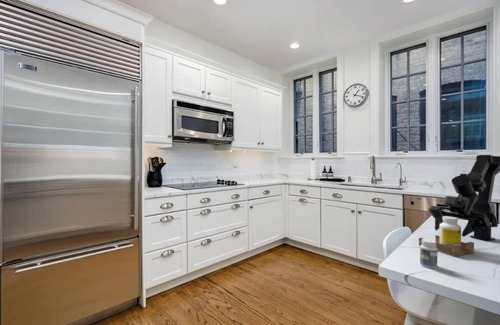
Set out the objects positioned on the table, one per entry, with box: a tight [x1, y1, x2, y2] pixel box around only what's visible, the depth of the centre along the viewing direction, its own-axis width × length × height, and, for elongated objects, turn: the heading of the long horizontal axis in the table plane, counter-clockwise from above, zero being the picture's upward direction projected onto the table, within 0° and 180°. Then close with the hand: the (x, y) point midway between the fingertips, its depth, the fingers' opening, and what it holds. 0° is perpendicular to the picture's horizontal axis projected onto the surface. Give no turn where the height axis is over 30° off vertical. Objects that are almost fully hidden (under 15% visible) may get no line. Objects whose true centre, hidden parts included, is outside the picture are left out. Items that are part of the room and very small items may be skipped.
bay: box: [418, 234, 475, 258], centre depth 101 cm, size 11×14×4 cm
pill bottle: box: [419, 238, 439, 269], centre depth 85 cm, size 5×5×8 cm
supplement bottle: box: [438, 216, 462, 247], centre depth 99 cm, size 7×7×13 cm
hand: (448, 232), depth 99 cm, fingers open, 9 cm apart
